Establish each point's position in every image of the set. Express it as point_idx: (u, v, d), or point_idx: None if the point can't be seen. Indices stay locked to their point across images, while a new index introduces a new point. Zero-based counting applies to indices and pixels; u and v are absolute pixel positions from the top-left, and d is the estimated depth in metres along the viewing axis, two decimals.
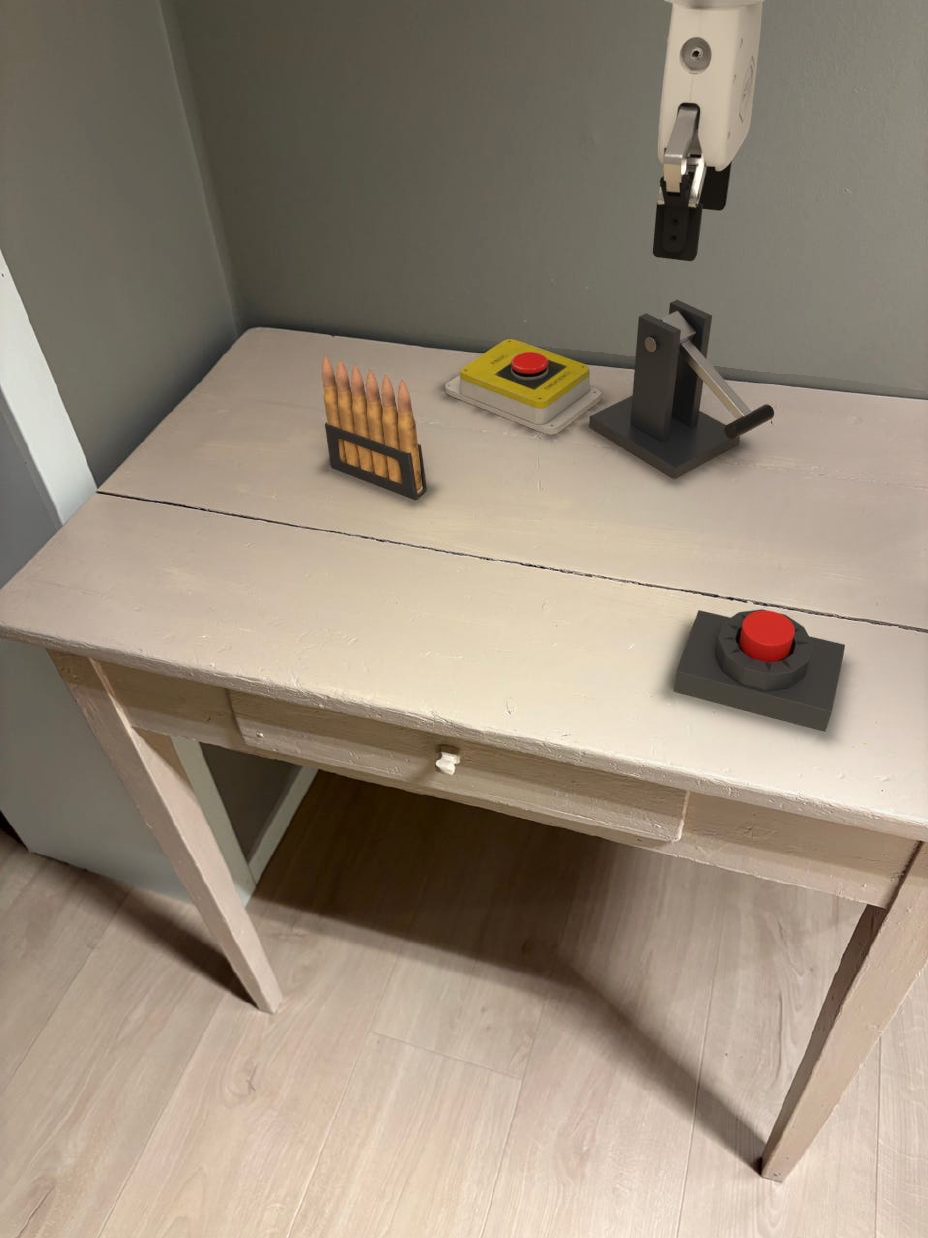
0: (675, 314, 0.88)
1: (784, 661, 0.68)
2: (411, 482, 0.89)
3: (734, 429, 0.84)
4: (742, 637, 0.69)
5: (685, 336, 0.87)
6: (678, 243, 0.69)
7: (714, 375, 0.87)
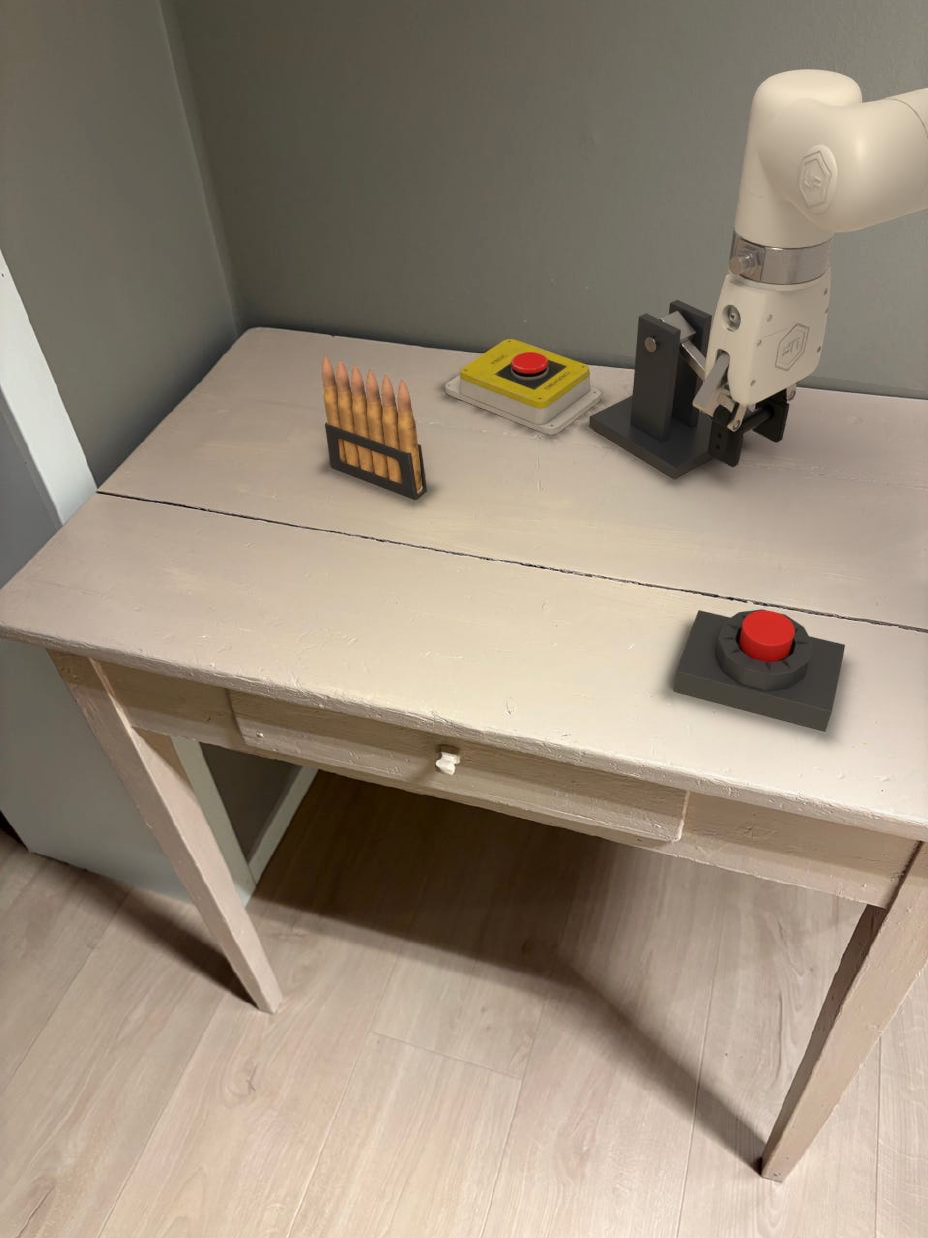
0: (675, 314, 0.88)
1: (784, 661, 0.68)
2: (411, 482, 0.89)
3: None
4: (742, 637, 0.69)
5: (685, 336, 0.87)
6: (720, 451, 0.85)
7: None
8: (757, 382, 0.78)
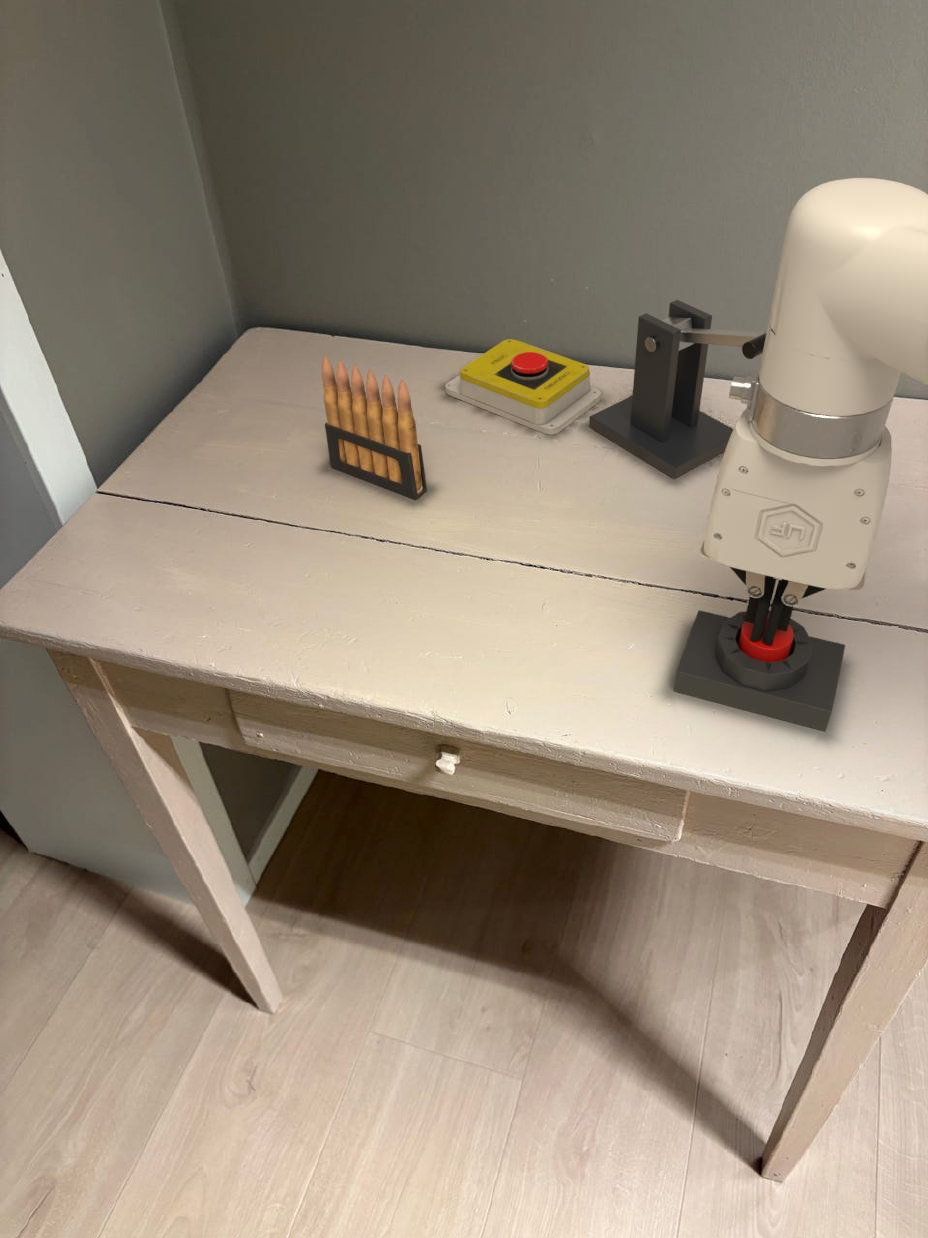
0: (667, 318, 0.89)
1: (784, 661, 0.68)
2: (411, 482, 0.89)
3: (749, 344, 0.79)
4: (741, 641, 0.69)
5: (680, 322, 0.87)
6: (746, 614, 0.68)
7: (719, 331, 0.84)
8: (725, 540, 0.62)
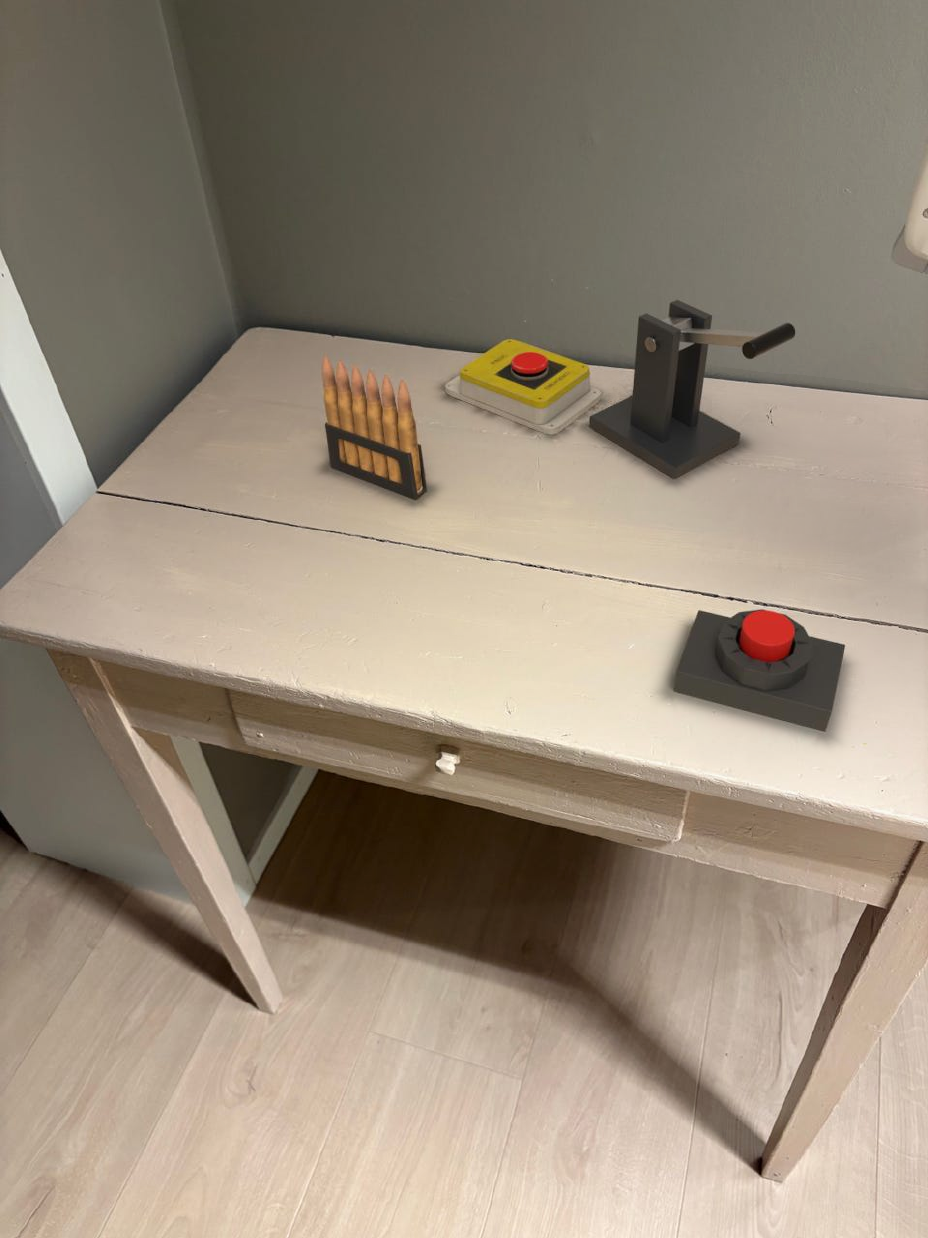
0: (667, 318, 0.89)
1: (784, 661, 0.68)
2: (411, 482, 0.89)
3: (749, 344, 0.79)
4: (742, 637, 0.69)
5: (680, 322, 0.87)
6: None
7: (719, 331, 0.84)
8: None
